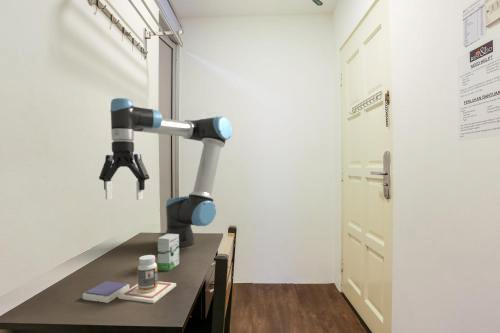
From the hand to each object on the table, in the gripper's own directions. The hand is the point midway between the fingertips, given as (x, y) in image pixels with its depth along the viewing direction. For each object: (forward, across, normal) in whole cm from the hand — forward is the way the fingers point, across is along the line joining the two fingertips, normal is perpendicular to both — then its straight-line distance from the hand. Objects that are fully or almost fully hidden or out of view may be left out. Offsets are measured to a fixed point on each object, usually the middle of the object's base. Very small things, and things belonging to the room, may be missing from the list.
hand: (124, 199), depth 107 cm
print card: (+27, +19, -13) cm, 35 cm away
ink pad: (+27, +8, -18) cm, 33 cm away
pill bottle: (+26, +19, -13) cm, 35 cm away
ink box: (+27, +13, +8) cm, 31 cm away
